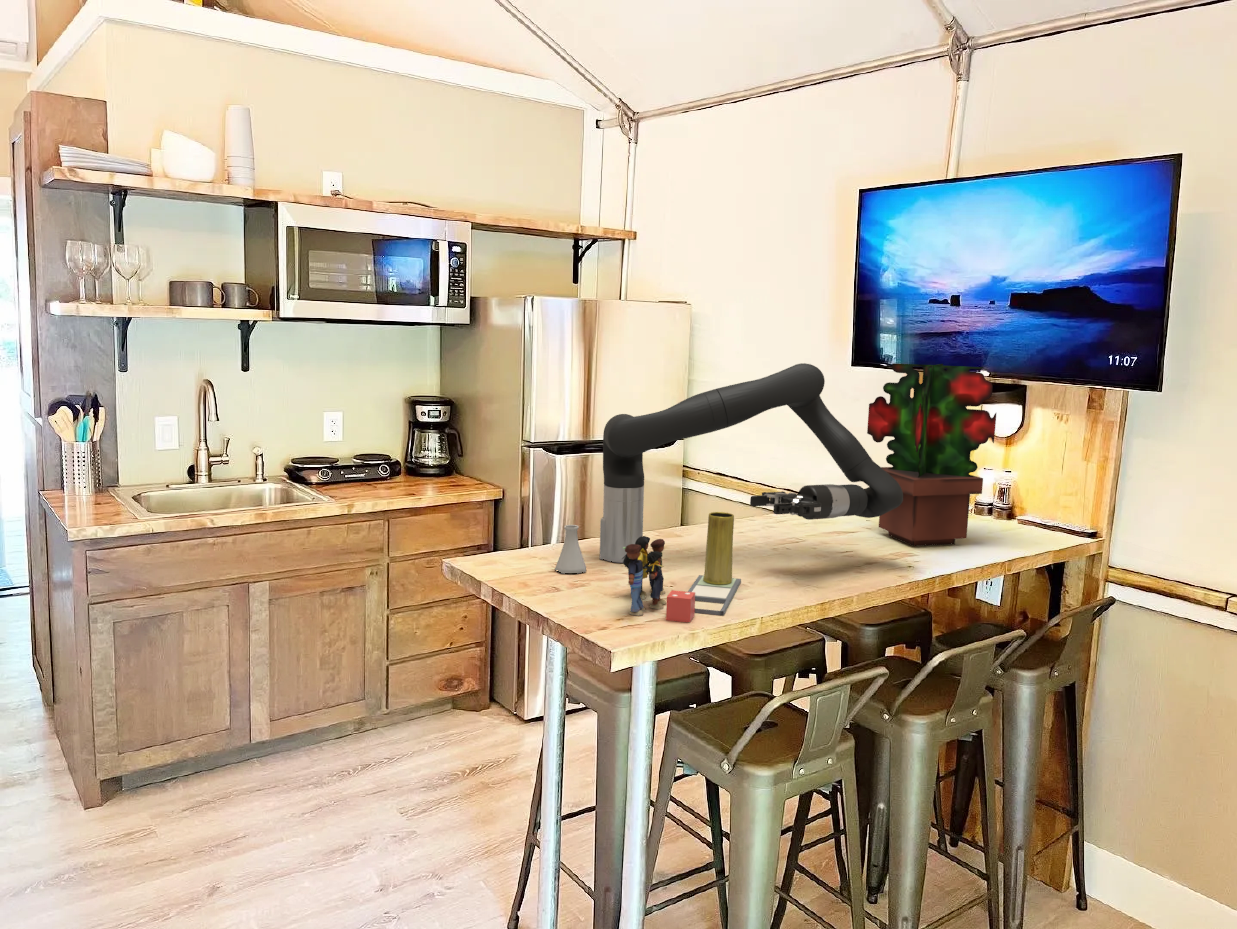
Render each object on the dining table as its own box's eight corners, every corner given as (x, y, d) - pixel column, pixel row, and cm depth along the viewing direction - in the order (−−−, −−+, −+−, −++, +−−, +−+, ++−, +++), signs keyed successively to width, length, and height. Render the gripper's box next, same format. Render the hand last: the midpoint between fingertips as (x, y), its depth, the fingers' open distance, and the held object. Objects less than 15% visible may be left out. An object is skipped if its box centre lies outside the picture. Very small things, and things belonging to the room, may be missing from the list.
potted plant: (933, 529, 262) (946, 362, 255) (985, 548, 241) (1000, 368, 234) (860, 532, 256) (871, 362, 249) (907, 552, 235) (920, 367, 228)
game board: (676, 610, 184) (677, 606, 184) (699, 578, 207) (699, 574, 207) (723, 615, 182) (723, 611, 182) (740, 582, 205) (741, 578, 205)
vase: (735, 585, 199) (739, 517, 197) (706, 585, 199) (710, 517, 196) (728, 576, 205) (731, 511, 203) (700, 577, 204) (703, 511, 202)
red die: (666, 620, 178) (666, 596, 178) (671, 613, 183) (671, 590, 182) (690, 622, 177) (690, 598, 176) (694, 615, 181) (695, 592, 181)
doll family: (671, 621, 178) (673, 551, 176) (622, 620, 178) (624, 550, 176) (663, 586, 201) (665, 523, 199) (620, 585, 201) (621, 522, 199)
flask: (590, 574, 209) (591, 529, 207) (557, 575, 207) (558, 530, 205) (582, 565, 216) (583, 522, 214) (551, 567, 214) (551, 523, 212)
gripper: (804, 479, 217) (744, 481, 210) (846, 490, 205) (784, 493, 198) (801, 511, 219) (742, 515, 211) (843, 525, 206) (781, 529, 199)
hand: (762, 505), depth 204 cm, fingers open, 8 cm apart
